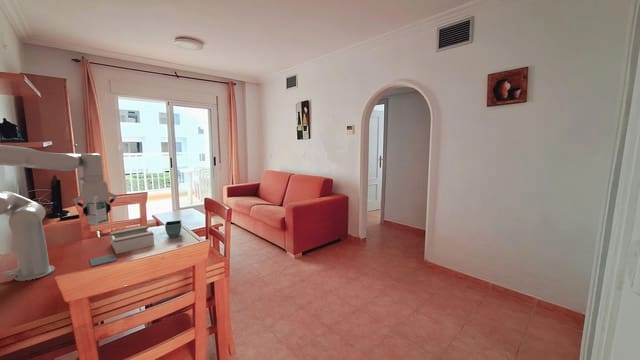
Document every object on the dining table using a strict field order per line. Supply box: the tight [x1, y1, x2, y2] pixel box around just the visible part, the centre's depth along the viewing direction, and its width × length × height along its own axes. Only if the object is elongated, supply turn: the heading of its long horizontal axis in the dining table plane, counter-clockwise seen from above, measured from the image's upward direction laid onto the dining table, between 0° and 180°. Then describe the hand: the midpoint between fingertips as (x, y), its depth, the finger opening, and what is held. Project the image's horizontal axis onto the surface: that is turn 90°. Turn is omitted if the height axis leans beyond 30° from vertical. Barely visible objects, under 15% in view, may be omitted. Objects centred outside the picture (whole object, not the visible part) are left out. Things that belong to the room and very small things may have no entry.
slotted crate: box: [109, 225, 155, 255], centre depth 156 cm, size 18×18×8 cm
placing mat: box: [89, 253, 118, 267], centre depth 136 cm, size 10×10×1 cm
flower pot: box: [164, 219, 182, 239], centre depth 171 cm, size 9×9×9 cm
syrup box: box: [86, 196, 109, 226], centre depth 132 cm, size 6×6×14 cm
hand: (97, 213), depth 133 cm, fingers closed on syrup box, 7 cm apart
